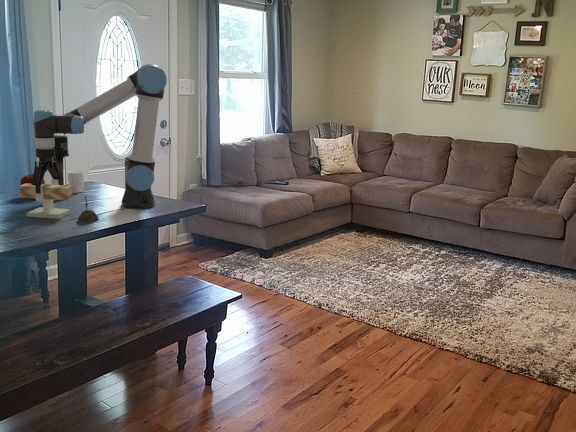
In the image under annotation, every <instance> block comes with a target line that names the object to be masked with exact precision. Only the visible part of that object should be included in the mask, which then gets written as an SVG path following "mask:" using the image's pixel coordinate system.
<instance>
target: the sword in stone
mask: <svg viewBox="0 0 576 432" xmlns="http://www.w3.org/2000/svg"><path fill="white" fill-rule="evenodd" d="M84 198H85V208H86V209H85V210H83V211H82V212H81V213H80V214H79V216H78V219H77V224H79V223H81V224H83V225H87V224H88V225H89V224H91V225H92V224H94V222H97V221H99V216H98V215H97V214H96V212H95V211H94V210H91V209H88V202H87V195H85V197H84ZM81 224H80V225H81Z"/></svg>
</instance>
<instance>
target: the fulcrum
mask: <svg viewBox="0 0 576 432" xmlns="http://www.w3.org/2000/svg"><path fill="white" fill-rule="evenodd" d="M70 213H71V209H68V208H58V207H56V208H55V207H54V199H43V201H42V207H37V208H34V209H32V210H30V211H28V212H26V213H25V216H26V217H29V218H40V219H44V218H45V219H57V220H59V219H60V218H63V217H65V216H66V215H68V214H70Z"/></svg>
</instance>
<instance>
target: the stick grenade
mask: <svg viewBox="0 0 576 432" xmlns="http://www.w3.org/2000/svg"><path fill="white" fill-rule="evenodd" d="M54 141H55V147H53V148H54V149H55V157H56V160H57V165H58V168H59V171H60V174H61V179H58V185H65V182H64V180H65V179H64V168H65V167H64V165H65V164H64V159H65V157H70V154H69V141H68V136H67V135H59V134H58V135H57V134H56V135H54Z"/></svg>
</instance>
